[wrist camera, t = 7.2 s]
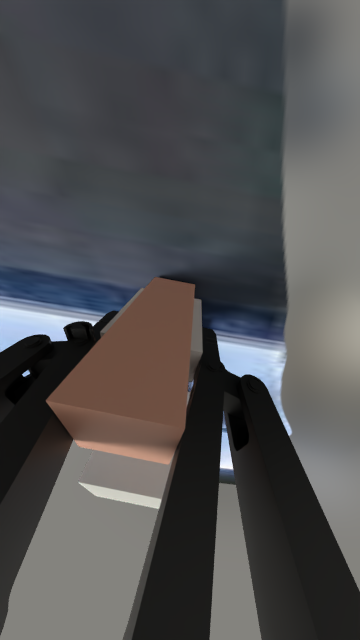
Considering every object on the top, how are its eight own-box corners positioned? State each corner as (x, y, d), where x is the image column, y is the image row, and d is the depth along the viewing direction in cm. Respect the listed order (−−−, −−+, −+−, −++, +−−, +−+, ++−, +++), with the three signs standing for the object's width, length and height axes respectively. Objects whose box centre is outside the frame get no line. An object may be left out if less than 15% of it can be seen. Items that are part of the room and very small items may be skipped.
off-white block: (126, 376, 24) (75, 480, 14) (195, 389, 24) (192, 504, 14) (129, 409, 31) (95, 496, 21) (183, 419, 31) (176, 512, 21)
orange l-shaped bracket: (140, 273, 14) (-6, 390, 4) (210, 287, 14) (238, 439, 4) (140, 382, 24) (98, 490, 14) (180, 390, 24) (167, 504, 14)
